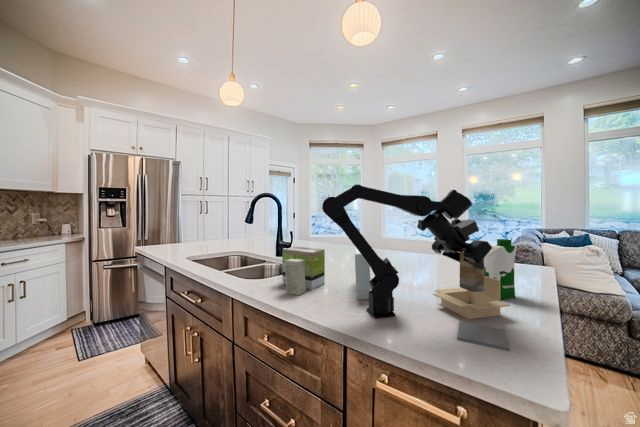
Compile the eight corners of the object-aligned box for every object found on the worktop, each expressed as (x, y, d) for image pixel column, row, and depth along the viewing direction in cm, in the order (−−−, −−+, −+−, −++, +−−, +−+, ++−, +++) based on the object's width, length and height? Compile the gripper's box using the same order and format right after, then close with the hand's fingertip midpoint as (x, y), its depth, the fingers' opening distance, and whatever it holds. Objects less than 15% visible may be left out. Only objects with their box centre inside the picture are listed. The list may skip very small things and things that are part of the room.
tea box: (281, 284, 109) (281, 248, 108) (296, 279, 117) (296, 245, 117) (312, 290, 101) (311, 251, 100) (325, 284, 109) (325, 248, 109)
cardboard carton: (468, 325, 70) (468, 287, 70) (426, 303, 86) (426, 272, 86) (510, 319, 73) (510, 283, 73) (462, 299, 90) (462, 269, 90)
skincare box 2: (355, 282, 111) (355, 244, 111) (368, 283, 110) (368, 245, 110) (355, 299, 90) (354, 253, 90) (371, 300, 90) (371, 253, 89)
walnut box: (471, 292, 76) (472, 253, 76) (459, 286, 81) (459, 251, 80) (484, 291, 76) (484, 253, 76) (471, 286, 81) (471, 250, 81)
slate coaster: (457, 339, 62) (457, 336, 62) (459, 323, 71) (459, 321, 71) (509, 350, 57) (509, 347, 57) (504, 331, 66) (504, 329, 66)
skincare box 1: (306, 292, 98) (305, 259, 98) (299, 295, 94) (298, 261, 94) (292, 289, 101) (292, 258, 101) (285, 292, 98) (284, 260, 98)
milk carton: (501, 301, 87) (501, 241, 87) (477, 293, 96) (477, 238, 96) (520, 298, 90) (520, 239, 90) (494, 290, 99) (495, 237, 98)
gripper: (486, 210, 68) (521, 251, 71) (440, 210, 87) (469, 243, 89) (459, 241, 67) (495, 282, 69) (418, 234, 85) (448, 267, 87)
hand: (475, 266), depth 79 cm, fingers closed on walnut box, 5 cm apart
